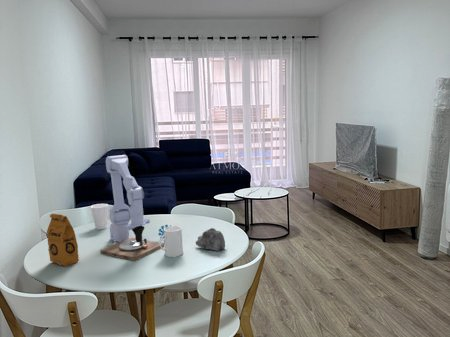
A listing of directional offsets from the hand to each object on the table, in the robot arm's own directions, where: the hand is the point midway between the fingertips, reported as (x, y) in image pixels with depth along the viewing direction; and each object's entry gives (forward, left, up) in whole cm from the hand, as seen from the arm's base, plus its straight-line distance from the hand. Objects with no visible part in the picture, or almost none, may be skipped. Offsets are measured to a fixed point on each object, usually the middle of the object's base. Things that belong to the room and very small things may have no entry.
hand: (138, 241), depth 184 cm
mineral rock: (+28, +19, -5) cm, 34 cm away
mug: (+16, +4, -5) cm, 17 cm away
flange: (-4, +1, -3) cm, 5 cm away
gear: (+3, +19, -5) cm, 20 cm away
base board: (-5, +1, -5) cm, 7 cm away
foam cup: (-48, +20, -5) cm, 52 cm away
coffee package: (-22, -24, -5) cm, 33 cm away
